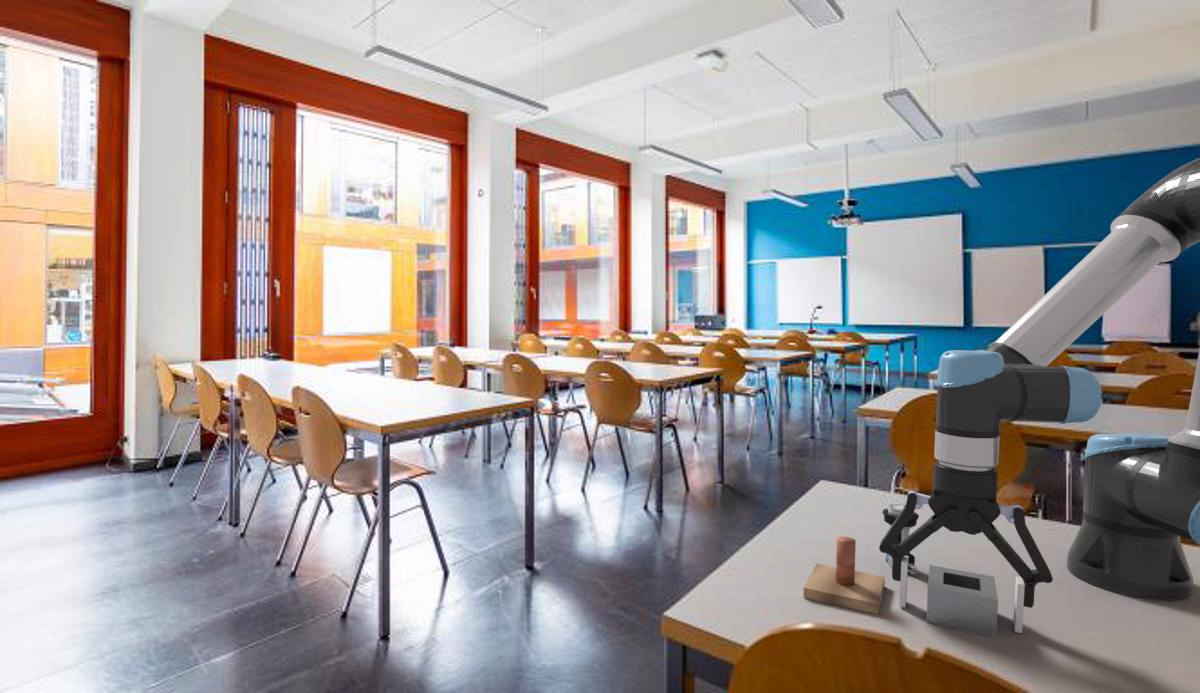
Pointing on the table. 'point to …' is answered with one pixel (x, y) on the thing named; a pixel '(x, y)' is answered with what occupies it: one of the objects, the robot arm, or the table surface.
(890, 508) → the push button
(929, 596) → the grey slotted box
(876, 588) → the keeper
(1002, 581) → the table surface
